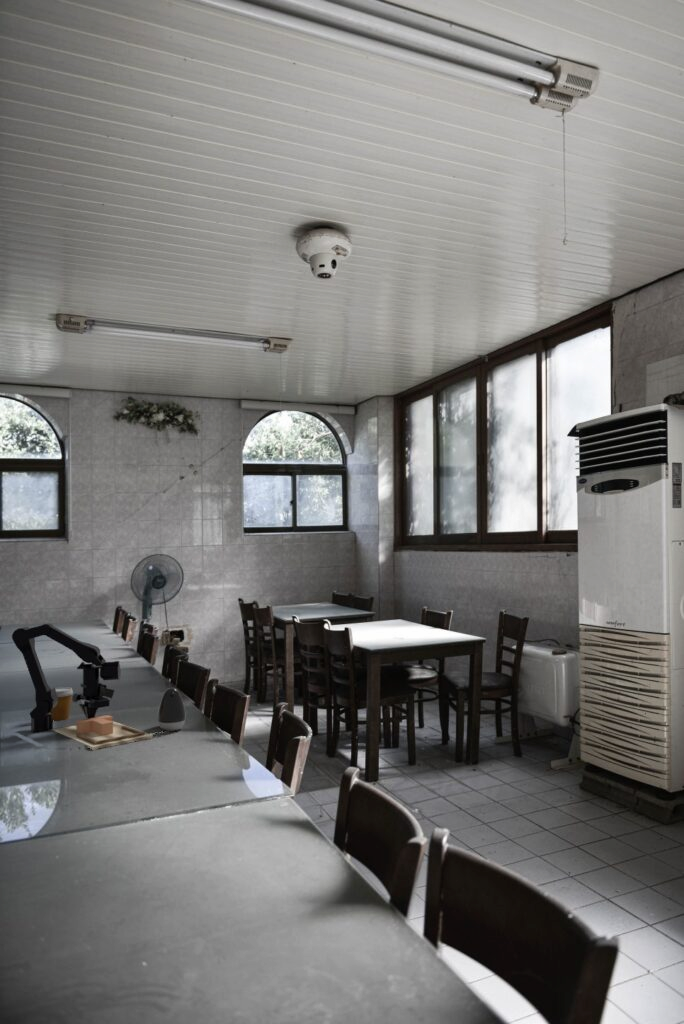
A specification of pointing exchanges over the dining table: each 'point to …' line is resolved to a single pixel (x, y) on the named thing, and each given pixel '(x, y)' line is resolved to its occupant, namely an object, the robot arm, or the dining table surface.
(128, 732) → the board
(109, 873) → the dining table surface
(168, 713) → the grey egg-shaped pod
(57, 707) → the disposable coffee cup
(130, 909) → the dining table surface
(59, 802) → the dining table surface
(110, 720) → the t block
